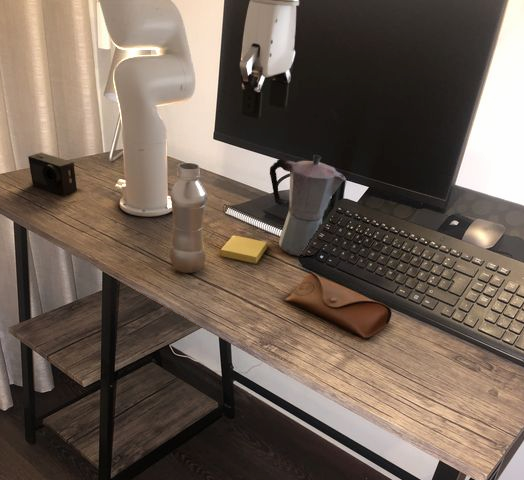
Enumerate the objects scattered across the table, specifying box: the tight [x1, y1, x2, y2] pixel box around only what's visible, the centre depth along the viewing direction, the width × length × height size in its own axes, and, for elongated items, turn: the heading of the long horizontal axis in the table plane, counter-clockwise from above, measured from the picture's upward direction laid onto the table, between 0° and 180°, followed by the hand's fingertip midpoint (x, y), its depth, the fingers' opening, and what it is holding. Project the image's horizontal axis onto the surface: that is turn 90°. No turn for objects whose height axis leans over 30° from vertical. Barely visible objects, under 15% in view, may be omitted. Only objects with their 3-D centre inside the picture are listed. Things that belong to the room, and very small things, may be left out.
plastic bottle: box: [169, 162, 208, 274], centre depth 102 cm, size 6×7×20 cm
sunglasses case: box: [284, 271, 392, 339], centre depth 99 cm, size 18×7×7 cm, turn 52°
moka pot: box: [269, 154, 347, 257], centre depth 113 cm, size 10×15×20 cm, turn 78°
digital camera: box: [27, 152, 78, 196], centre depth 132 cm, size 10×5×7 cm, turn 61°
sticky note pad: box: [220, 235, 268, 265], centre depth 115 cm, size 8×8×2 cm
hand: (264, 111), depth 94 cm, fingers open, 9 cm apart
